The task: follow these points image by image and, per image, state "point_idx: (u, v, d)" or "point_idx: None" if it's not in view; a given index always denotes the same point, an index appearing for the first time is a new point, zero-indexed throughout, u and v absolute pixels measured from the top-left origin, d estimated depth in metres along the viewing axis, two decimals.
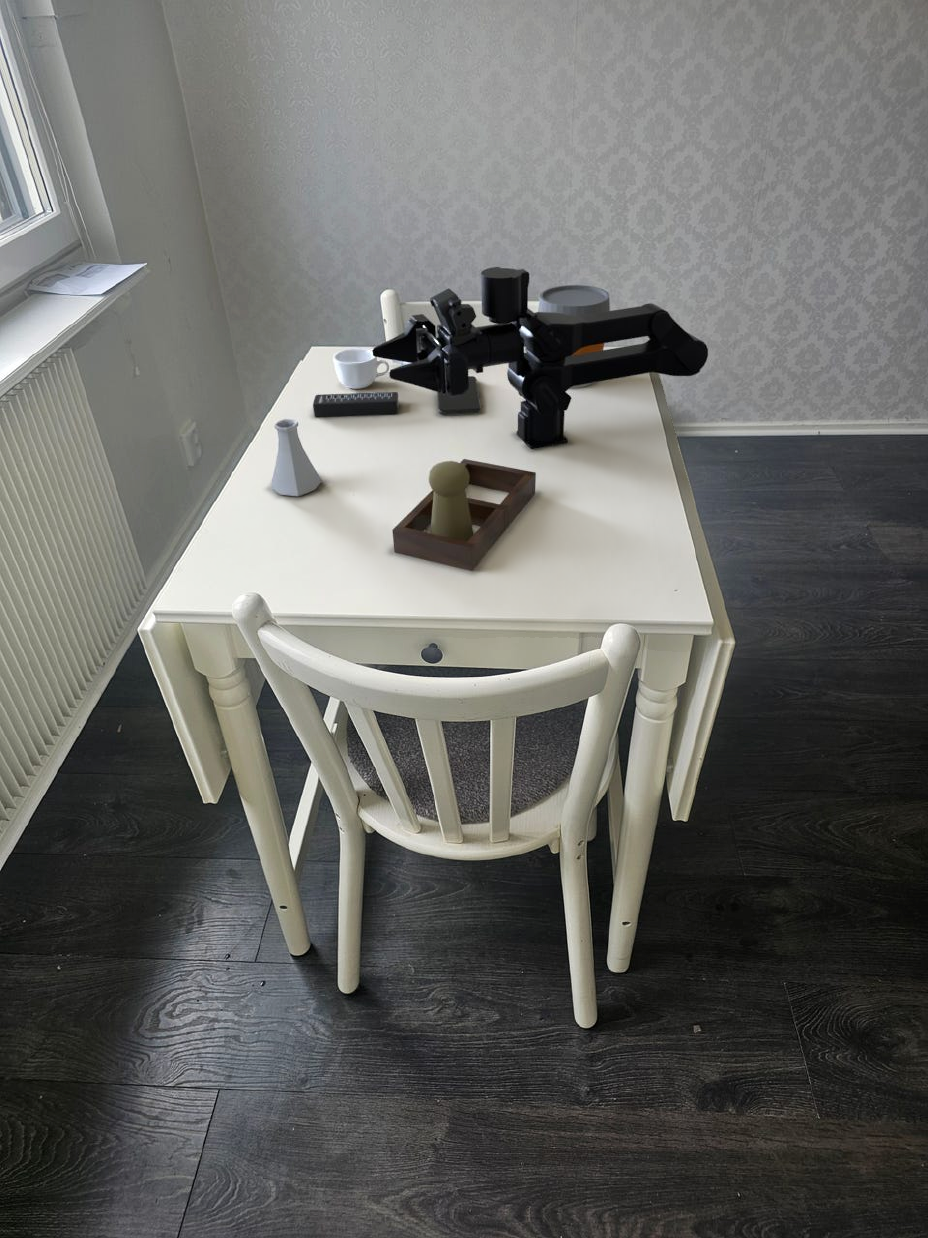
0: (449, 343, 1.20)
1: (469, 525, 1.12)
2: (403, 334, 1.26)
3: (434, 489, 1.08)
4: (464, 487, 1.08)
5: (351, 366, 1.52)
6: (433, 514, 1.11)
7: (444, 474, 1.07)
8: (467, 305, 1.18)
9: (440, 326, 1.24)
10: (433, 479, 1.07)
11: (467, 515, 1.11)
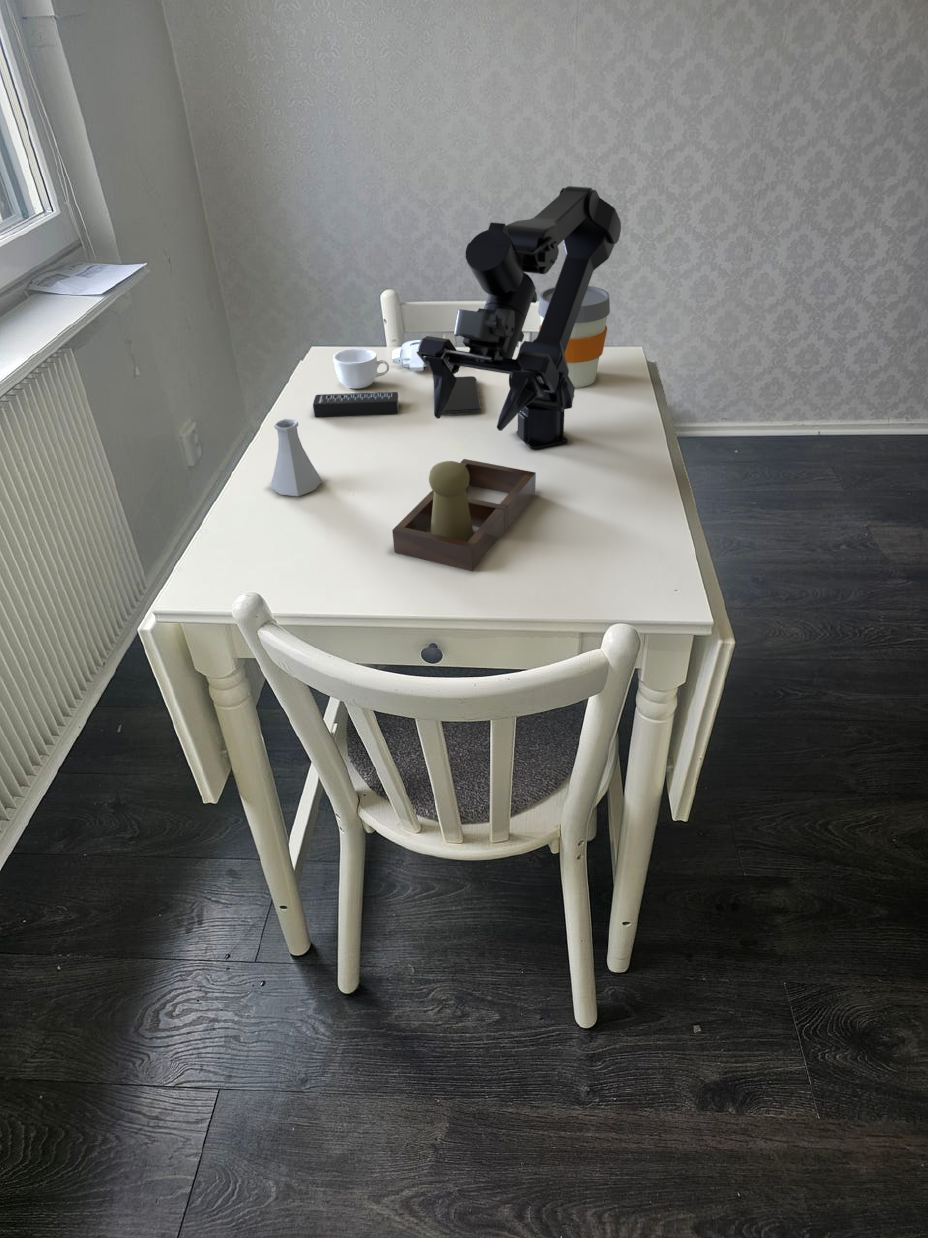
0: (503, 351, 1.10)
1: (469, 525, 1.12)
2: (437, 375, 1.13)
3: (434, 489, 1.08)
4: (464, 487, 1.08)
5: (351, 366, 1.52)
6: (433, 514, 1.11)
7: (444, 473, 1.07)
8: (501, 311, 1.05)
9: (468, 340, 1.11)
10: (433, 479, 1.07)
11: (467, 515, 1.11)
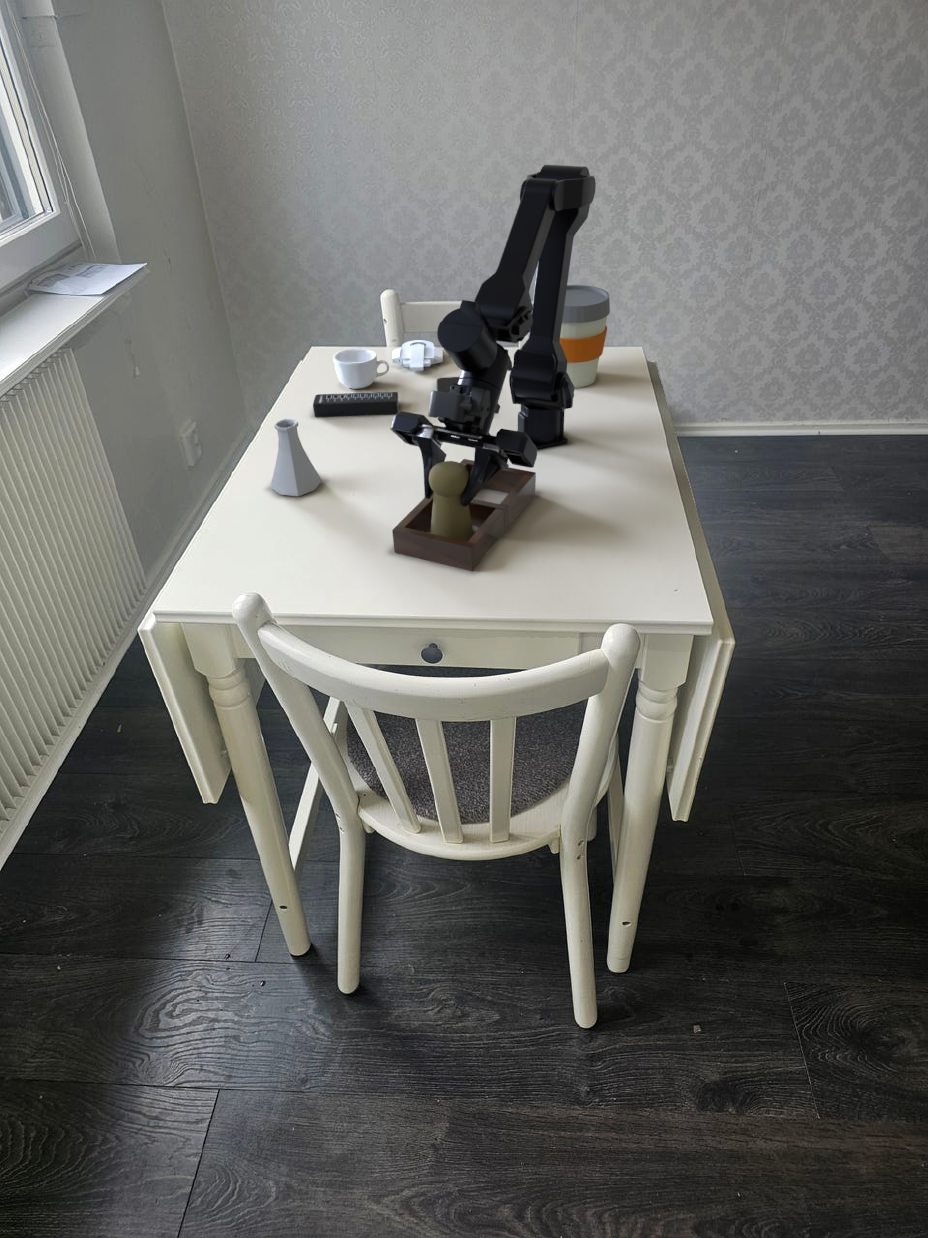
0: (479, 428, 1.07)
1: (469, 526, 1.12)
2: (426, 454, 1.10)
3: (434, 489, 1.08)
4: (464, 487, 1.08)
5: (351, 366, 1.52)
6: (433, 514, 1.11)
7: (444, 474, 1.07)
8: (476, 392, 1.02)
9: (443, 417, 1.08)
10: (433, 479, 1.07)
11: (467, 515, 1.11)
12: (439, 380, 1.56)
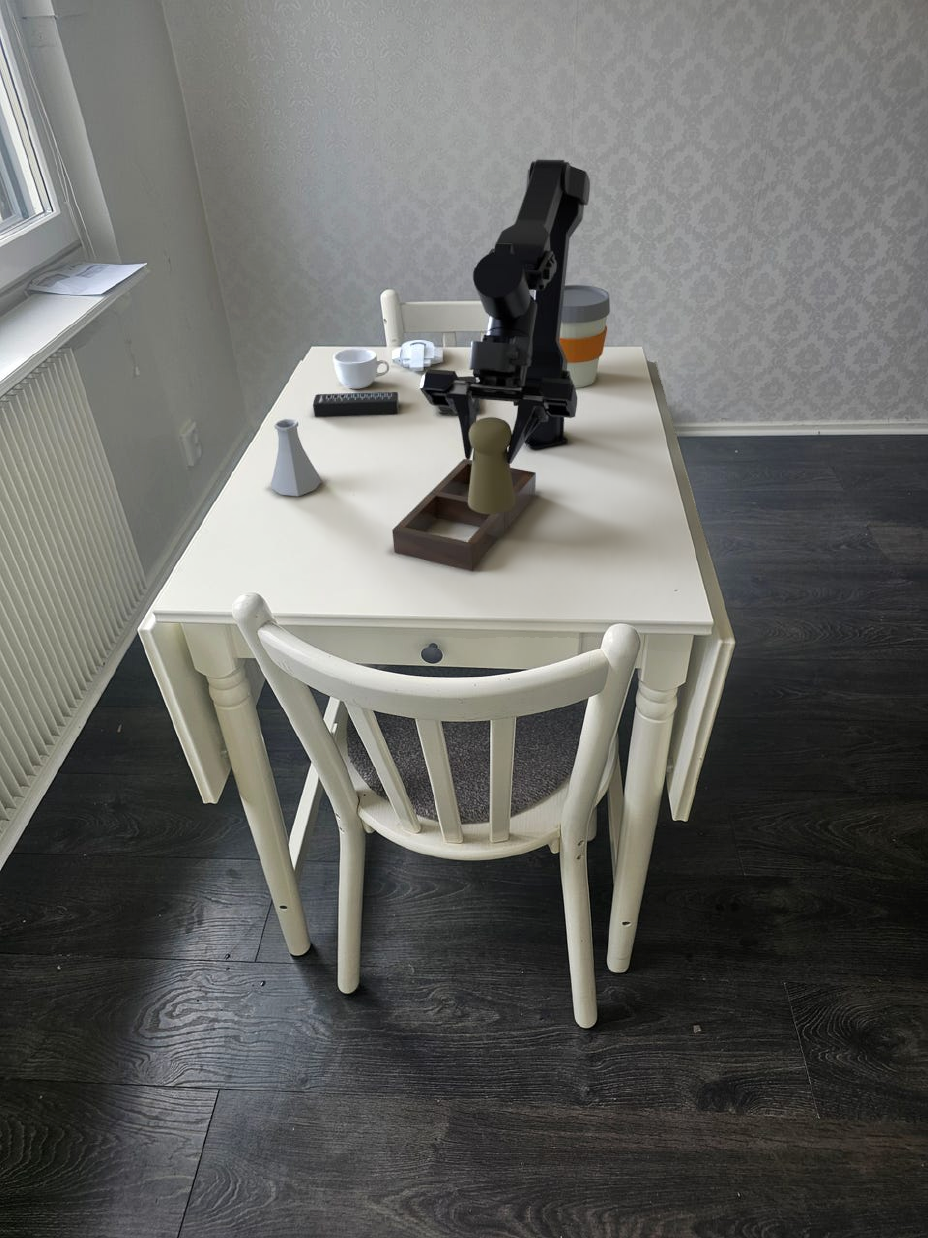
0: (518, 380, 1.02)
1: (511, 484, 1.06)
2: (462, 412, 1.04)
3: (477, 447, 1.02)
4: (508, 443, 1.02)
5: (351, 366, 1.52)
6: (474, 475, 1.05)
7: (488, 430, 1.01)
8: (520, 340, 0.97)
9: (478, 371, 1.02)
10: (476, 436, 1.01)
11: (509, 473, 1.06)
12: None
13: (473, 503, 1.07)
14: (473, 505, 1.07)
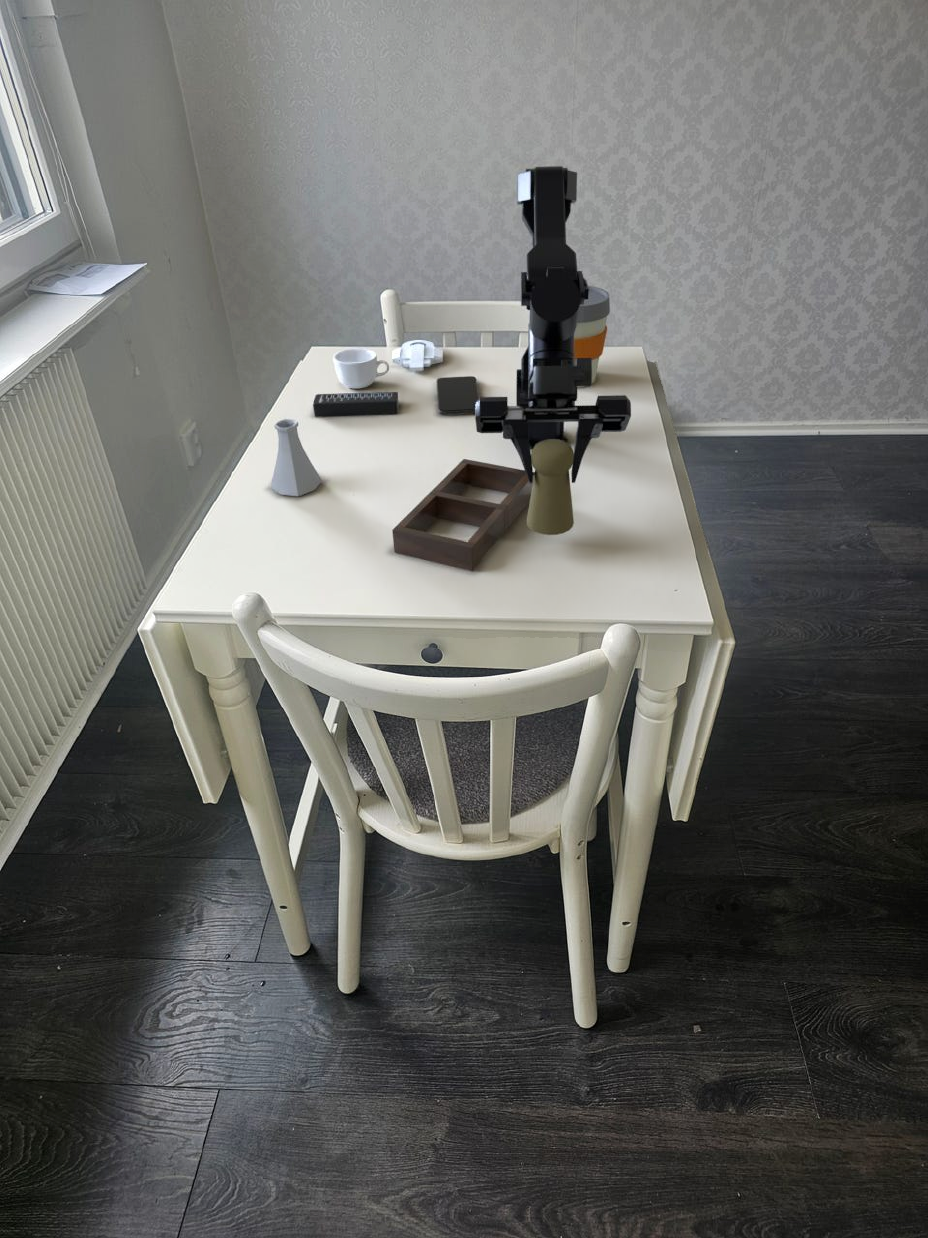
0: (574, 400, 1.03)
1: (571, 503, 1.07)
2: (521, 437, 1.04)
3: (544, 470, 1.02)
4: (572, 462, 1.03)
5: (351, 366, 1.52)
6: (538, 498, 1.05)
7: (555, 452, 1.01)
8: (582, 361, 0.98)
9: (534, 395, 1.02)
10: (544, 460, 1.02)
11: (570, 492, 1.07)
12: (439, 380, 1.56)
13: (537, 526, 1.07)
14: (537, 528, 1.07)
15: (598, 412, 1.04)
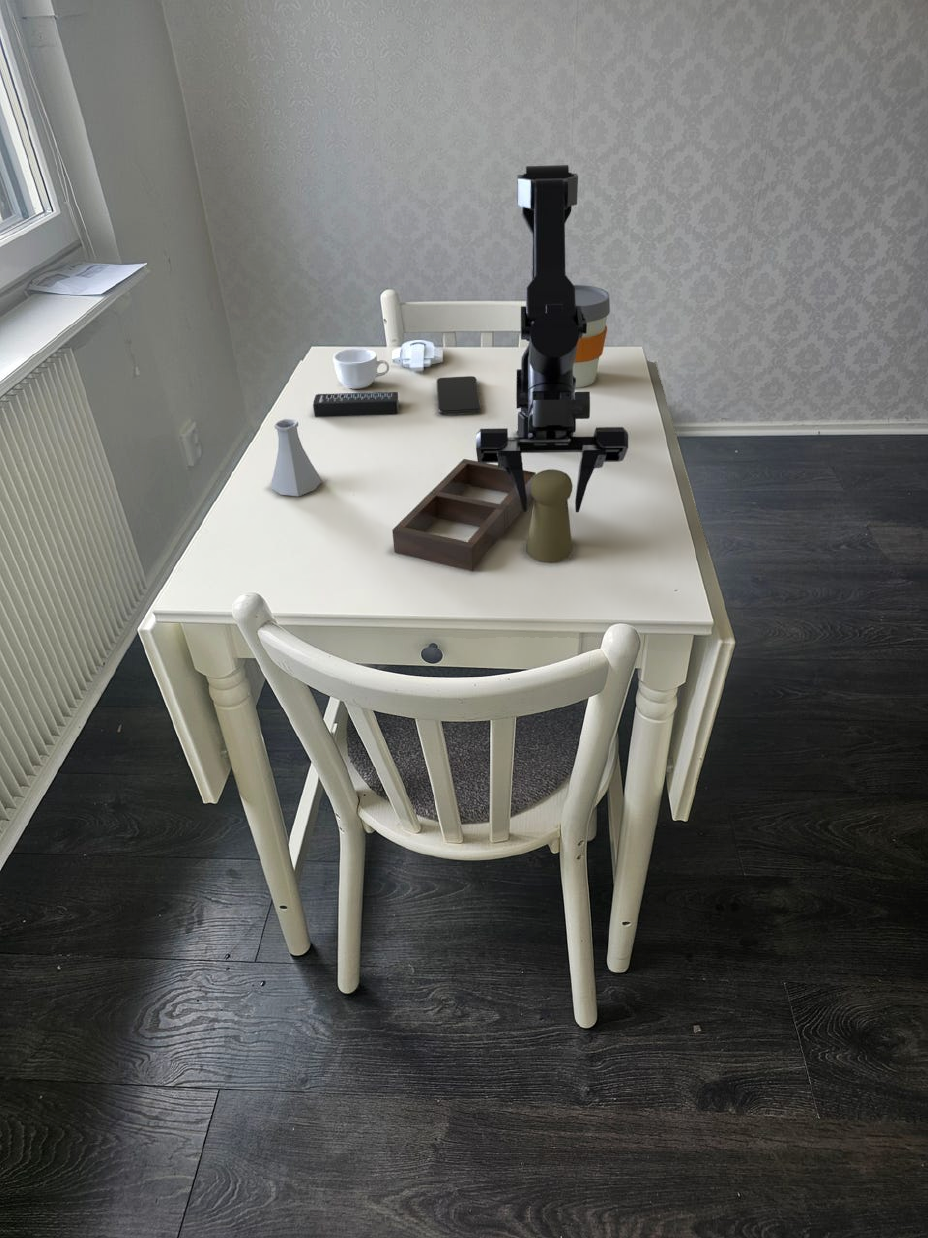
0: (573, 431, 1.05)
1: (570, 531, 1.10)
2: (515, 468, 1.06)
3: (544, 500, 1.05)
4: (571, 492, 1.06)
5: (351, 366, 1.52)
6: (537, 527, 1.08)
7: (554, 482, 1.04)
8: (580, 395, 1.01)
9: (534, 427, 1.05)
10: (543, 490, 1.04)
11: (569, 521, 1.09)
12: (439, 380, 1.56)
13: (536, 553, 1.10)
14: (536, 555, 1.10)
15: (596, 443, 1.07)
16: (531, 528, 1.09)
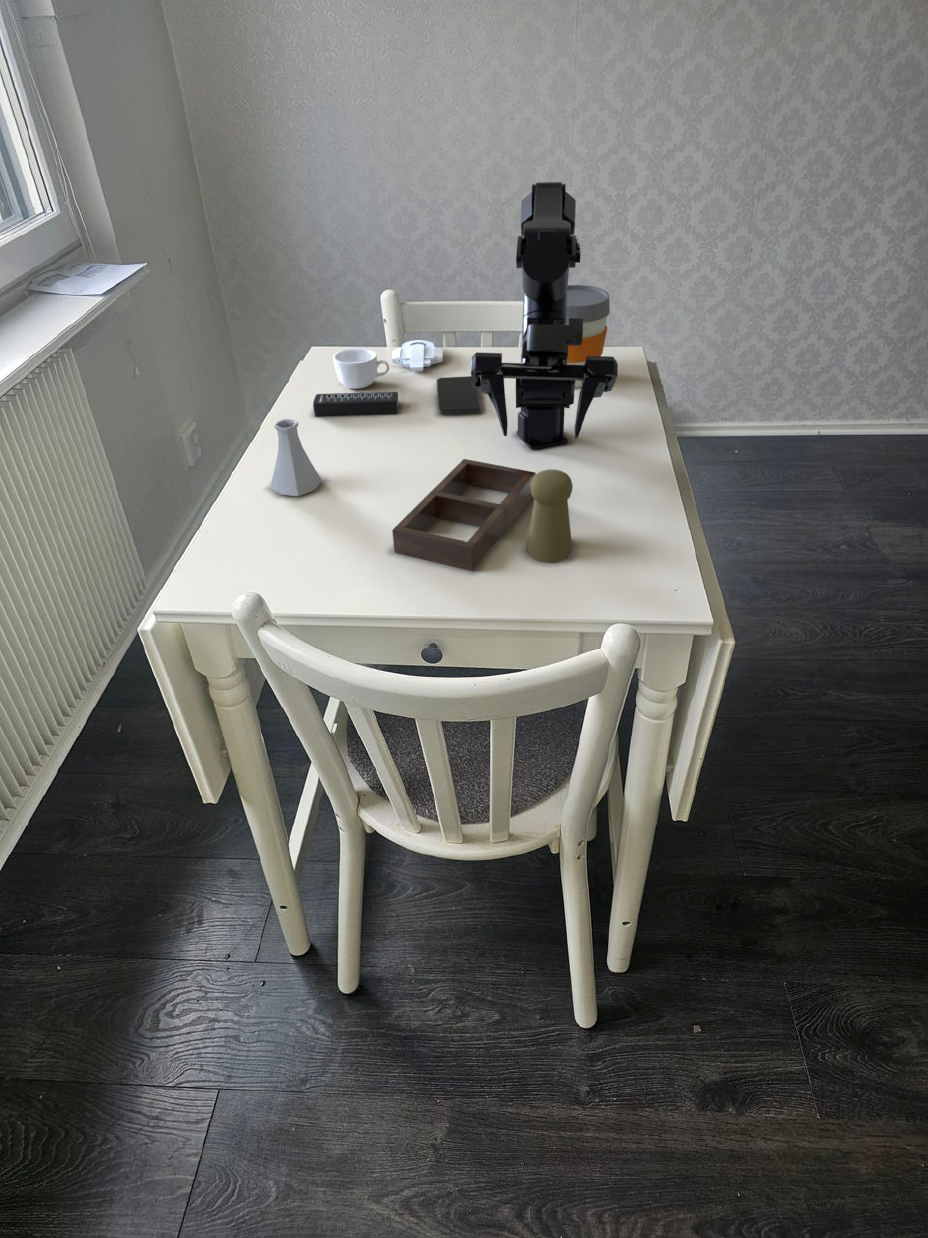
0: (565, 358, 1.09)
1: (570, 531, 1.10)
2: (498, 392, 1.10)
3: (544, 500, 1.05)
4: (571, 492, 1.06)
5: (351, 366, 1.52)
6: (537, 527, 1.08)
7: (554, 483, 1.04)
8: (574, 321, 1.04)
9: (527, 352, 1.08)
10: (543, 490, 1.04)
11: (569, 521, 1.09)
12: (439, 380, 1.56)
13: (536, 553, 1.10)
14: (536, 555, 1.10)
15: (586, 372, 1.11)
16: (531, 528, 1.09)
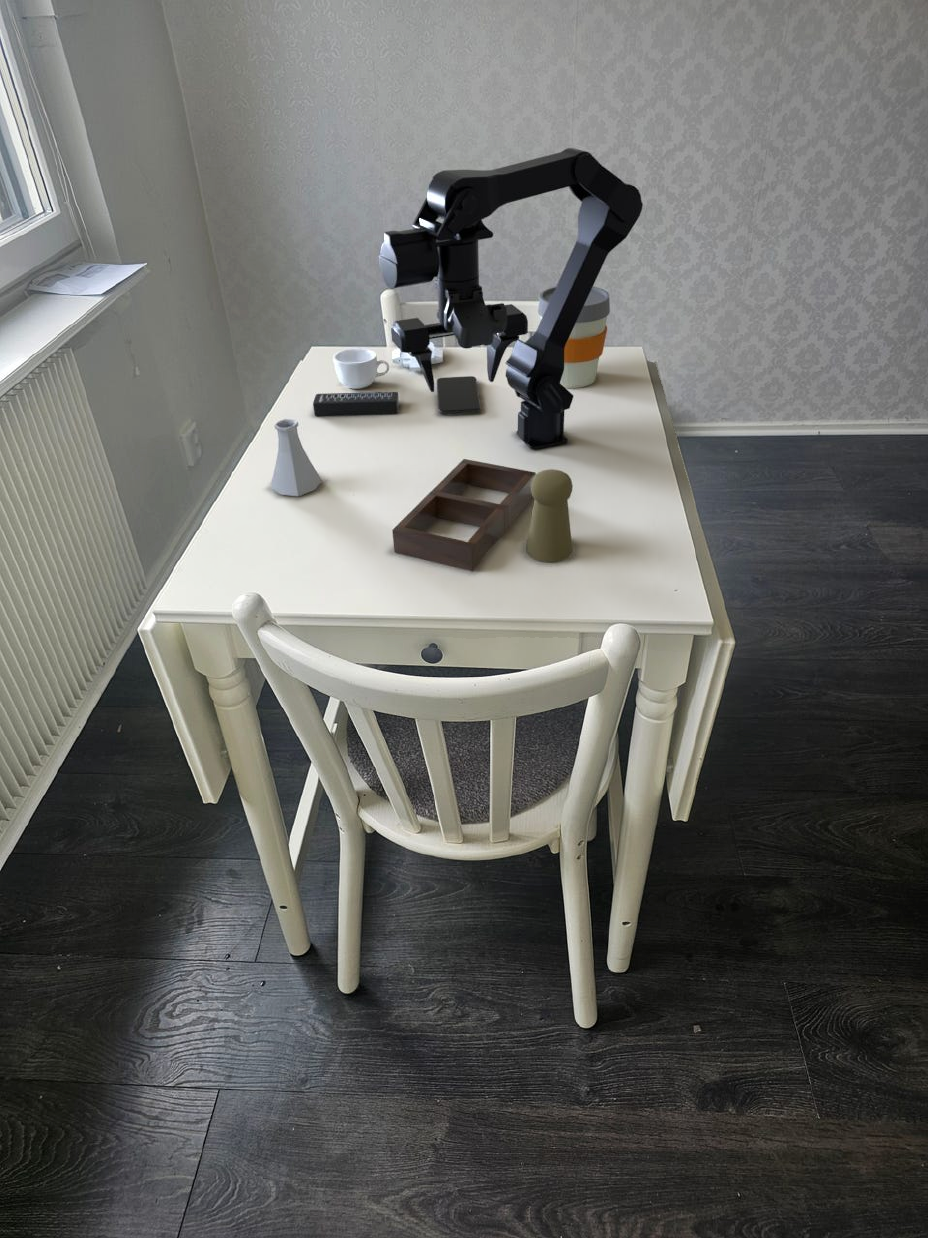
0: None
1: (570, 531, 1.10)
2: (425, 361, 1.20)
3: (544, 500, 1.05)
4: (571, 492, 1.06)
5: (351, 366, 1.52)
6: (537, 527, 1.08)
7: (554, 482, 1.04)
8: (499, 313, 1.13)
9: (451, 327, 1.17)
10: (543, 490, 1.04)
11: (569, 521, 1.09)
12: (439, 380, 1.56)
13: (536, 553, 1.10)
14: (536, 555, 1.10)
15: None
16: (531, 528, 1.09)
